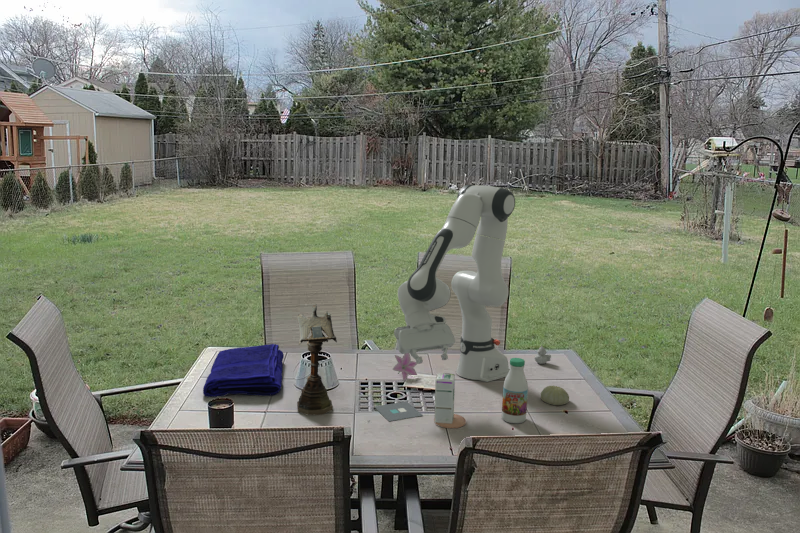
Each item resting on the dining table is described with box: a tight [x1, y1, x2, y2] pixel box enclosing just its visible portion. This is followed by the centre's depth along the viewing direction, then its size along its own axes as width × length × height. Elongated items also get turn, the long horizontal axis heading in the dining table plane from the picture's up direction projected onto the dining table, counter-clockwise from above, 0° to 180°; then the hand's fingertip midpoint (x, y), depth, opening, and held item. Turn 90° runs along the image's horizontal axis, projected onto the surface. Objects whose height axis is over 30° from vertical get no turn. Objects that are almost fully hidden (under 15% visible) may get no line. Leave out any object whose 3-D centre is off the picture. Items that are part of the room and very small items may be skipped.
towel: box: [202, 343, 284, 398], centre depth 233 cm, size 26×36×9 cm
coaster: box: [433, 413, 467, 429], centre depth 202 cm, size 10×10×1 cm
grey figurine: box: [534, 344, 552, 365], centre depth 258 cm, size 5×7×8 cm
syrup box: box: [434, 372, 456, 424], centre depth 201 cm, size 6×6×14 cm
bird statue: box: [296, 303, 338, 416], centre depth 204 cm, size 17×13×35 cm
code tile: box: [374, 400, 424, 422], centre depth 209 cm, size 12×12×1 cm
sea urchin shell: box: [540, 385, 570, 406], centre depth 221 cm, size 9×8×8 cm
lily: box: [392, 353, 418, 382], centre depth 240 cm, size 11×11×9 cm
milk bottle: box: [501, 357, 529, 424], centre depth 204 cm, size 8×8×20 cm
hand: (432, 361), depth 211 cm, fingers open, 8 cm apart
